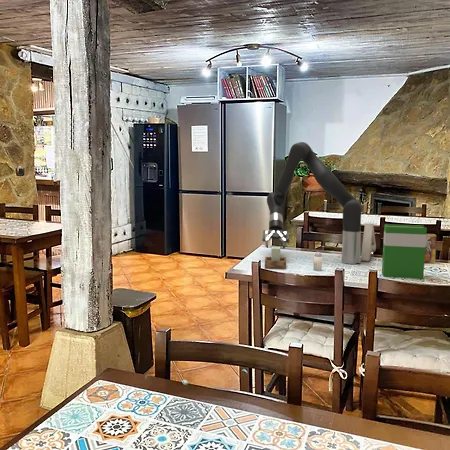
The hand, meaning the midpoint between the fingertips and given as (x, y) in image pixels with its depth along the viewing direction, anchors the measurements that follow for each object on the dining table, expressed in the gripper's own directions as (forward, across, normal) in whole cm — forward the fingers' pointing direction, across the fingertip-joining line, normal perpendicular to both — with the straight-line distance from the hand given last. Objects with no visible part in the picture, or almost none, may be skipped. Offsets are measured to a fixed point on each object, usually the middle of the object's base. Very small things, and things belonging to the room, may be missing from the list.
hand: (275, 247), depth 240 cm
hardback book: (+20, +60, -8) cm, 64 cm away
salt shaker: (+15, +21, -3) cm, 26 cm away
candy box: (-1, +80, +13) cm, 81 cm away
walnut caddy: (+12, 0, 0) cm, 12 cm away
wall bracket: (-11, +54, +23) cm, 59 cm away
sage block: (+11, 0, -1) cm, 11 cm away
